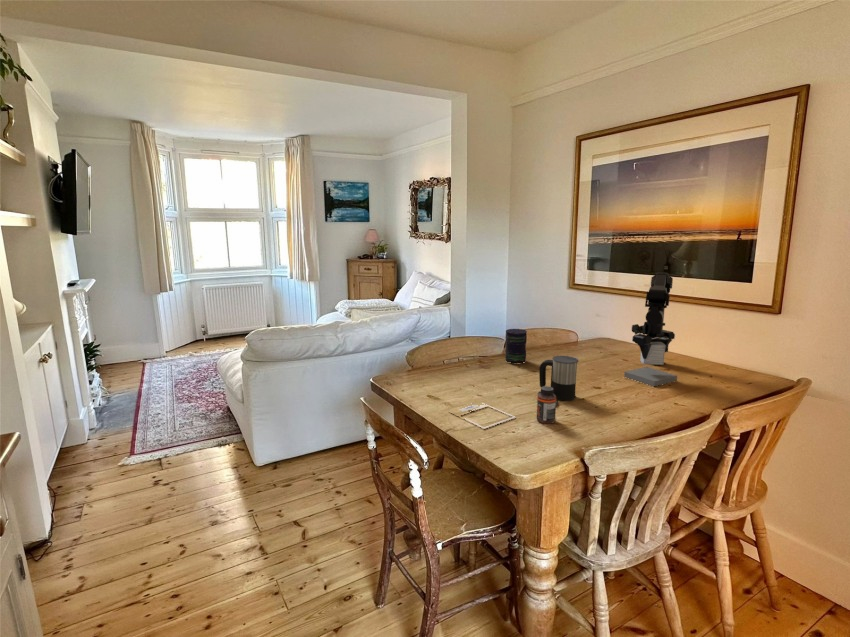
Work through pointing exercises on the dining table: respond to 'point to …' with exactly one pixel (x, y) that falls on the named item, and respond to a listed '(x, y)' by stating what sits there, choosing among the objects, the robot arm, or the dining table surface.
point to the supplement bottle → (546, 405)
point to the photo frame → (483, 407)
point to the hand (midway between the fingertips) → (652, 357)
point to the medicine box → (655, 354)
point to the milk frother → (560, 376)
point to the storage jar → (515, 345)
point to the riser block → (650, 376)
